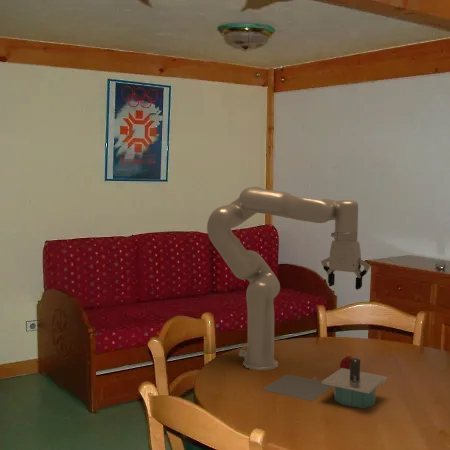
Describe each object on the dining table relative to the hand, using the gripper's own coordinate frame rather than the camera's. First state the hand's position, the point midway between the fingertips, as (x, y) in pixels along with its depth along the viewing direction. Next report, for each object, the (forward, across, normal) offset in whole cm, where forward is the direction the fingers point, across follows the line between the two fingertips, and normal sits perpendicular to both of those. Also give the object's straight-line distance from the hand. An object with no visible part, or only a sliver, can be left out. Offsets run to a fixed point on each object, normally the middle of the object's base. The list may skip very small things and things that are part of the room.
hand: (344, 287), depth 221 cm
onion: (+31, +3, -2) cm, 31 cm away
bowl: (+30, +13, -21) cm, 39 cm away
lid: (+24, +13, -21) cm, 35 cm away
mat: (+30, -6, -21) cm, 37 cm away
